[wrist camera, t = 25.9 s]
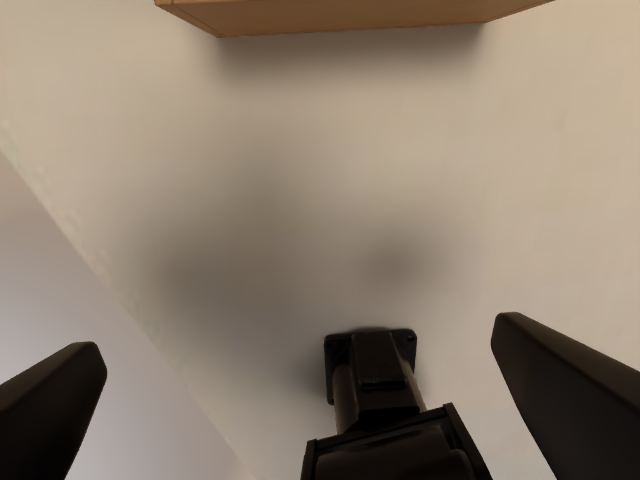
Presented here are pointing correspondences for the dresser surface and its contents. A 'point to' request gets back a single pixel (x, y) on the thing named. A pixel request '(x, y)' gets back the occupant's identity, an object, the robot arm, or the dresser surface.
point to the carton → (334, 14)
